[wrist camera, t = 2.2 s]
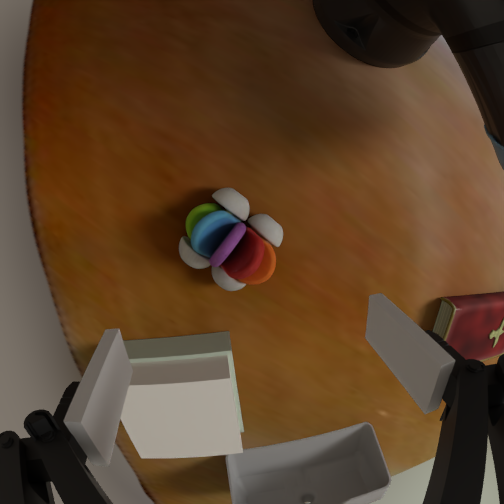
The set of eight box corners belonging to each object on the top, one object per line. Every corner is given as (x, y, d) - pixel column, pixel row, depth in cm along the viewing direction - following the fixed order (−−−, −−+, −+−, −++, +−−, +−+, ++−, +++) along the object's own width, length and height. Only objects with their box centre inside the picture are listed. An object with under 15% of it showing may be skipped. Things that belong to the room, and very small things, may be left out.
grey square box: (116, 341, 35) (99, 382, 27) (229, 331, 36) (234, 373, 29) (145, 418, 39) (138, 460, 32) (240, 411, 41) (247, 454, 33)
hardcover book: (439, 294, 40) (456, 307, 36) (511, 288, 43) (526, 297, 39) (417, 362, 43) (430, 376, 39) (492, 344, 46) (504, 355, 42)
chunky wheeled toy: (240, 290, 35) (248, 323, 28) (167, 240, 32) (157, 263, 25) (289, 231, 34) (309, 251, 27) (217, 174, 31) (219, 180, 24)
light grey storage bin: (237, 492, 48) (245, 543, 37) (224, 451, 43) (231, 514, 32) (358, 465, 51) (379, 510, 39) (370, 419, 46) (399, 471, 34)
